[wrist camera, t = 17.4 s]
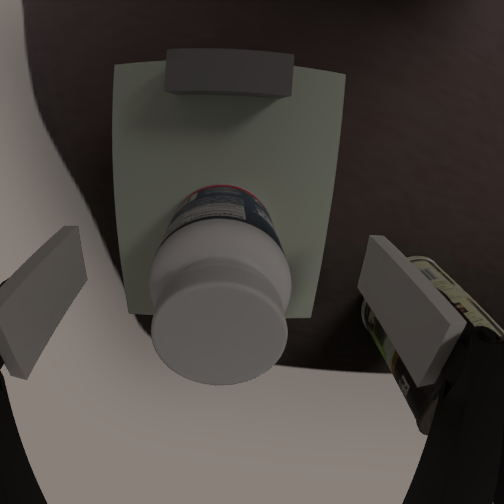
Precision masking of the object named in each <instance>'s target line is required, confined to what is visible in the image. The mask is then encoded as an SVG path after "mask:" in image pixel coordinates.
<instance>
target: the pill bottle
mask: <svg viewBox="0 0 504 504" xmlns="http://www.w3.org/2000/svg"><path fill="white" fill-rule="evenodd" d="M149 287H150V294H151V299H152V302H153V304H154V307H155V311H154V315H153V319H152V324H151V337H152V341H153V346H154V348H155V350H156V352H157V354H158V355H159V357H160V358H161V360H162V361H163V362H164V363H165V364H166V365H167V366H168V367H169V368H170V369H171V370H173V371H174V372H176V373H177V374H179V375H181V376H183V377H185V378H187V379H190V380H192V381H196V382H199V383H203V384H210V385H232V384H237V383H242V382H246V381H248V380H251V379H253V378H256V377H258V376H259V375H261V374H263V373H265V372H266V371H267V370H269V369H270V368H271V367H272V366H273V365H274V364H275V363H276V362H277V361H278V359H279V358H280V357H281V355H282V353H283V351H284V349H285V346H286V342H287V336H288V329H287V323H286V319H285V314H284V313H285V311H286V309H287V307H288V304H289V301H290V297H291V289H292V281H291V274H290V270H289V265H288V262H287V259H286V257H285V254H284V252H283V249H282V246H281V244H280V241H279V238H278V236H277V233H276V230H275V228H274V226H273V223H272V220H271V217H270V215H269V213H268V211H267V209H266V207H265V206H264V204H263V203H262V202H261V200H260V199H259V198H258V197H257V196H255V195H254V194H253V193H252V192H250V191H248V190H247V189H245V188H243V187H240V186H237V185H233V184H226V183H217V184H211V185H207V186H204V187H201V188H199V189H197V190H195V191H194V192H192V193H191V194H190V195H188V196H187V197H186V198H185V199H184V200H183V201H182V203H181V204H180V205H179V207H178V209H177V210H176V212H175V214H174V216H173V218H172V220H171V222H170V224H169V226H168V228H167V230H166V232H165V234H164V236H163V239H162V241H161V243H160V245H159V247H158V250H157V252H156V254H155V257H154V260H153V263H152V267H151V271H150V278H149Z"/></svg>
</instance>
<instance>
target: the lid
mask: <svg viewBox="0 0 504 504" xmlns="http://www.w3.org/2000/svg"><path fill="white" fill-rule="evenodd" d="M345 77H346V74H340V73H335V72H330V71H324V70H318V69H312V68H305V67H297V66H294V54H287V53H278V52H268V51H257V50H242V49H219V48H183V49H167V55H166V61H152V62H139V63H128V64H118V65H115V66H114V82H113V108H112V155H113V181H114V198H115V211H116V223H117V233H118V243H119V251H120V259H121V267H122V274H123V281H124V288H125V294H126V300H127V306H128V311H129V314H144V315H154V311H155V307H154V304H153V302H152V299H151V294H150V287H149V278H150V271H151V267H152V263H153V260H154V257H155V254H156V252H157V250H158V247H159V245H160V243H161V241H162V239H163V236H164V234H165V232H166V230H167V228H168V226H169V224H170V222H171V220H172V218H173V216H174V214H175V212H176V210H177V209H178V207H179V205H180V204H181V203H182V201H183V200H184V199H185V198H186V197H187V196H188V195H190V194H191V193H192V192H194V191H195V190H197V189H199V188H201V187H204V186H207V185H211V184H217V183H226V184H233V185H237V186H240V187H243V188H245V189H247V190H248V191H250V192H252V193H253V194H254V195H255V196H257V197H258V198H259V199H260V200H261V202H262V203H263V204H264V206H265V207H266V209H267V211H268V213H269V215H270V217H271V220H272V223H273V226H274V228H275V230H276V233H277V236H278V238H279V241H280V244H281V246H282V249H283V252H284V254H285V257H286V259H287V262H288V265H289V270H290V274H291V281H292V289H291V297H290V301H289V304H288V307H287V309H286V311H285V313H284V314H285V318H311V314H312V309H313V304H314V299H315V294H316V289H317V284H318V278H319V273H320V268H321V262H322V257H323V251H324V245H325V239H326V233H327V227H328V221H329V215H330V208H331V202H332V195H333V188H334V180H335V173H336V165H337V157H338V149H339V140H340V131H341V122H342V112H343V101H344V89H345Z"/></svg>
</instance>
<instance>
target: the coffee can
mask: <svg viewBox="0 0 504 504" xmlns="http://www.w3.org/2000/svg"><path fill="white" fill-rule="evenodd" d="M407 259H408V260H409V261H410V262H411V263H412V264H413V265H414V266H415V267H416V268H417V269H418V270H419V271H420V272H421V273H422V274H423V275H424V276H425V277H426V278H427V279H428V280H429V281H430V282H431V283H432V284H433V285H434V286H435V287H436V288H438V289H439V290H441V291H442V292H444V293H445V294H446V295H447V296H448V297H449V298H450V299H451V302H453V303H454V304H455V305H456V306H457V308H459V309H460V310H461V311H462V313H463V314H464V315H465V316H466V317H467V318H468V319H469V320H470V322H471V323H472V324H473V325H474V326H475V327H476V326H485V327H488V328H490V329H492V330H493V331H495V332H496V333H497V334H498V335H499V336H500V338H501V340H502V341H504V331H503V330H502V329H501V327H500V326H499V325H498V324H497V323H496V322H495V321H494V320H493V319H492V318H491V317H490V316H489V315H488V314H487V313H486V312H485V311H484V310H483V309H482V308H481V307H480V306H479V305H478V304H477V303H476V302H475V301H474V300H473V299H472V298H471V297H470V296H469V295H468V294H467V293H466V292H465V291H464V290H463V289H462V288H461V287H460V286H459V285H458V284H457V283H456V282H455V281H454V280H452V279H451V278H450V277H449V276H448V275H447V274H446V273H445V272H444V271H443V270H442V269H441V268H439V266H438V265H437V264H436V263H435V262H434V261H433V260H431V259H429V258H427V257H423V256H411V257H407ZM361 316H362V321H363V323H364V325H365V327H366V329H367V330H368V331H369V333H370V334H371V336H372V338H373V340H374V341H375V343H376V345H377V347H378V348H379V350H380V352H381V354H382V356H383V357H384V359H385V361H386V363H387V365H388V367H389V368H390V370H391V372H392V374H393V376H394V378H395V380H396V382H397V384H398V385H399V387H400V389H401V391H402V393H403V395H404V397H405V399H406V401H407V403H408V405H409V407H410V409H411V410H412V412H413V414H414V417H415V419H416V423H417V426H418V428H419V430H420V432H421V433H423V434H425V435H428V434H429V431H430V427H431V424H432V420H433V417H434V413H435V409H436V405H437V401H438V397H439V396H438V397H437V398H436V399H435V401H434V400H432V399H433V397H434V396H435V394H436V393H437V391H438V389H439V388H440V386H441V385H442V383H443V382H444V380H445V376H444V375H443V373H442V371H441V373H440V374H439V376H438V378H437V379H436V381H435V383H434V384H430V385H426V386H421V387H417V386H416V384H415V382H414V380H413V379H412V377H411V375H410V373H409V371H408V370H407V368H406V366H405V364H404V363H403V361H402V359H401V357H400V356H399V354H398V352H397V351H396V349H395V347H394V346H393V344H392V342H391V340H390V339H389V337H388V335H387V334H386V332H385V331H384V329H383V327H382V326H381V324H380V322H379V321H378V319H377V317H376V316H375V314H374V313H373V311H372V309H371V308H370V306H369V305H368V303H367V301H366V300H365V298H364V299H363V303H362V308H361Z"/></svg>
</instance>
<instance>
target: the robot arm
mask: <svg viewBox="0 0 504 504" xmlns="http://www.w3.org/2000/svg"><path fill="white" fill-rule="evenodd" d="M86 281H87V276H86V270H85V265H84V259H83V254H82V248H81V242H80V235H79V228H78V226H64V227H63V228H62V229H60V230H59V231H58V232H57V233H56V234H55V235H54V236H52V237H51V238H50V239H49V240H48V241H47V242H46V243H45V244H44V245H43V246H41V247H40V248H39V249H38V250H37V251H36V252H35V253H34V254H33V255H32V256H31V257H30V258H29V259H28V260H27V261H26V262H25V263H24V264H23V265H22V266H21V267H20V268H19V269H18V270H17V271H16V272H15V273H14V274H13V275H12V276H11V277H10V278H8V279H7V280H5V281H3V282H2V283H1V285H0V369H1V368H2V366H3V364H5V366H6V367H7V369H8V371H9V373H10V375H11V376H14V377H18V378H21V379H26V380H27V379H28V377H29V375H30V373H31V371H32V369H33V367H34V365H35V364H36V362H37V360H38V358H39V356H40V355H41V353H42V351H43V349H44V348H45V346H46V344H47V343H48V341H49V339H50V337H51V336H52V334H53V332H54V331H55V329H56V327H57V326H58V324H59V323H60V321H61V319H62V318H63V316H64V314H65V313H66V311H67V310H68V308H69V307H70V305H71V304H72V302H73V300H74V299H75V297H76V296H77V294H78V293H79V291H80V290H81V288H82V287H83V285H84V284H85V282H86ZM357 287H358V289H359V290H360V292H361V294H362V295H363V297H364V298H365V300H366V301H367V303H368V305H369V306H370V308H371V309H372V311H373V313H374V314H375V316H376V317H377V319H378V321H379V322H380V324H381V326H382V327H383V329H384V331H385V332H386V334H387V335H388V337H389V339H390V340H391V342H392V344H393V346H394V347H395V349H396V351H397V352H398V354H399V356H400V357H401V359H402V361H403V363H404V364H405V366H406V368H407V370H408V371H409V373H410V375H411V377H412V379H413V380H414V382H415V384H416V386H417V387H421V386H426V385H430V384H434V383H435V381H436V379H437V378H438V376H439V374H440V373H441V371H442V373H443V375H444V376H445V380H444V382H443V383H442V385H441V386H440V388H439V389H438V391H437V393H436V394H435V396H434V397H433V399H432V400H434V401H435V399H436V398H437V397H438V396H439V397H438V401H437V405H436V409H435V413H434V417H433V420H432V424H431V427H430V431H429V434H428V437H427V441H426V444H425V447H424V450H423V453H422V455H421V458H420V461H419V464H418V467H417V469H416V472H415V475H414V477H413V480H412V482H411V485H410V487H409V489H408V492H407V494H406V497H405V499H404V501H403V503H402V504H504V341H502V340H501V338H500V336H499V335H498V334H497V333H496V332H495V331H493V330H492V329H490V328H488V327H485V326H476V327H475V326H474V325H473V324H472V323H471V322H470V320H469V319H468V318H467V317H466V316H465V315H464V314H463V313H462V311H461V310H460V309H459V308H457V306H456V305H455V304H454V303H453V302H451V299H450V298H449V297H448V296H447V295H446V294H445V293H444V292H442V291H441V290H439V289H438V288H436V287H435V286H434V285H433V284H432V283H431V282H430V281H429V280H428V279H427V278H426V277H425V276H424V275H423V274H422V273H421V272H420V271H419V270H418V269H417V268H416V267H415V266H414V265H413V264H412V263H411V262H410V261H409V260H408V259H407V258H406V257H405V256H404V255H403V254H402V253H401V252H400V251H399V250H398V249H397V248H396V247H395V246H394V245H393V244H392V243H391V242H390V241H389V240H388V239H387V238H386V237H385V236H377V235H370V236H369V241H368V245H367V249H366V254H365V258H364V262H363V266H362V270H361V274H360V278H359V282H358V286H357ZM0 504H47V502H46V500H45V498H44V496H43V493H42V491H41V489H40V487H39V485H38V483H37V480H36V478H35V476H34V473H33V471H32V468H31V466H30V464H29V461H28V458H27V456H26V453H25V450H24V448H23V445H22V442H21V439H20V436H19V433H18V429H17V426H16V423H15V420H14V416H13V413H12V409H11V406H10V402H9V398H8V394H7V389H6V385H5V380H4V377H3V375H2V373H1V371H0Z"/></svg>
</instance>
